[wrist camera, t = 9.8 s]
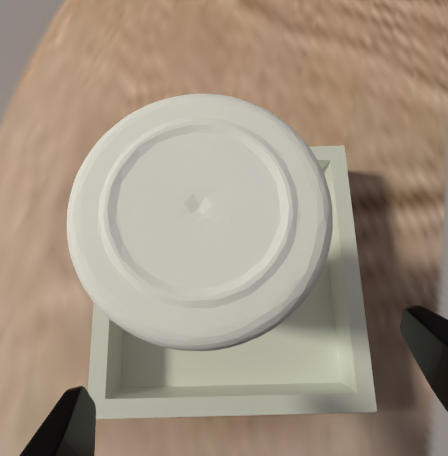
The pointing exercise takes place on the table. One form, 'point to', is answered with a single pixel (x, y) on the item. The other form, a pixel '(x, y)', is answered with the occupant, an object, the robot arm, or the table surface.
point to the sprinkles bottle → (199, 222)
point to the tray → (254, 348)
